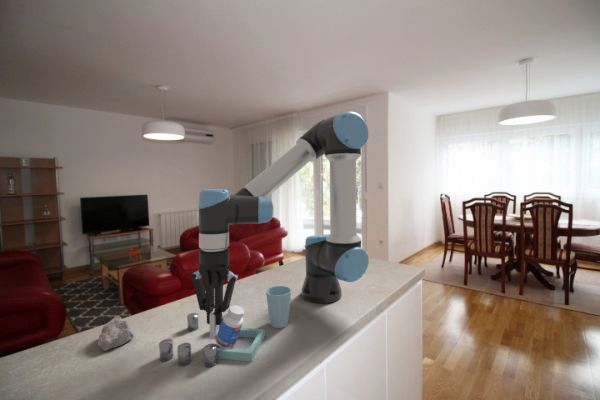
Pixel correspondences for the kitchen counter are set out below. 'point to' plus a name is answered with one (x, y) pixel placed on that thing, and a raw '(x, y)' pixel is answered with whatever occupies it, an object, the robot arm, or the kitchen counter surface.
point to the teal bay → (243, 354)
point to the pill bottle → (230, 327)
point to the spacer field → (188, 347)
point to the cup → (278, 305)
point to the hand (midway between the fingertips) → (214, 335)
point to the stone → (114, 334)
